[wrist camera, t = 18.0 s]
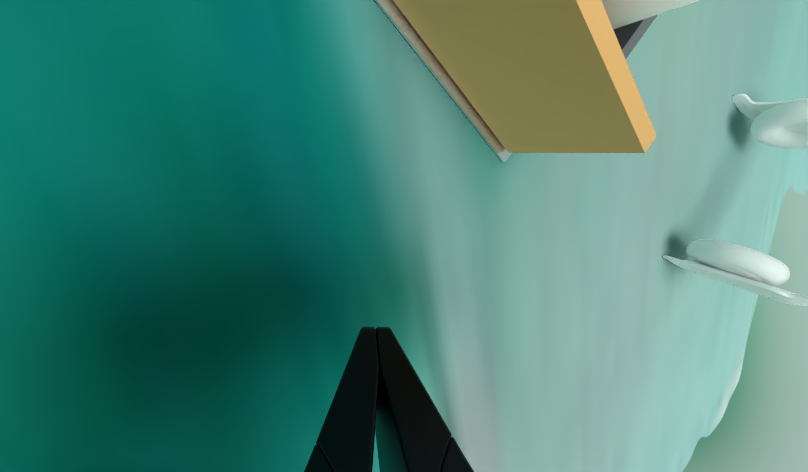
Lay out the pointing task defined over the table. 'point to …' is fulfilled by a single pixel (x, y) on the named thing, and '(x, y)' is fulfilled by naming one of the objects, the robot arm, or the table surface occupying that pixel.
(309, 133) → the table surface
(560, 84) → the grey and tan box
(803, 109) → the headset
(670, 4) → the bottle
